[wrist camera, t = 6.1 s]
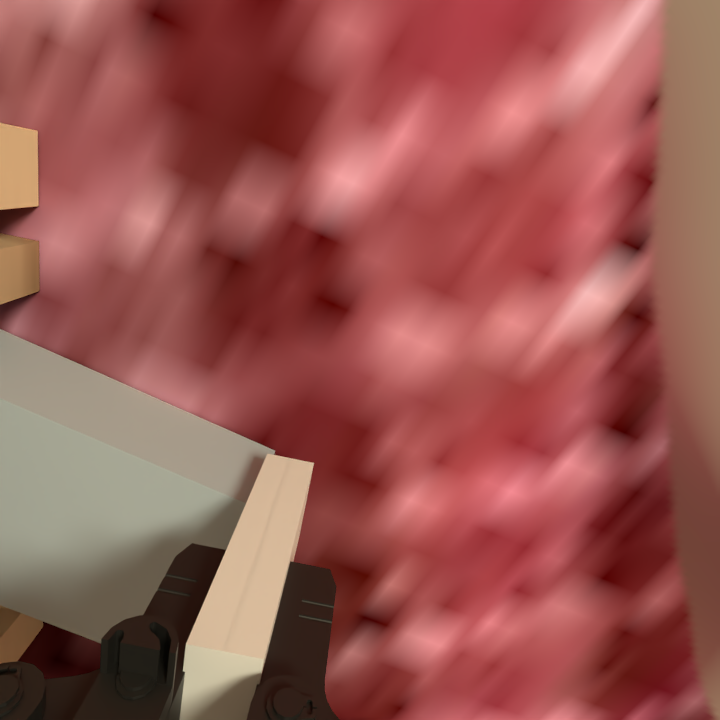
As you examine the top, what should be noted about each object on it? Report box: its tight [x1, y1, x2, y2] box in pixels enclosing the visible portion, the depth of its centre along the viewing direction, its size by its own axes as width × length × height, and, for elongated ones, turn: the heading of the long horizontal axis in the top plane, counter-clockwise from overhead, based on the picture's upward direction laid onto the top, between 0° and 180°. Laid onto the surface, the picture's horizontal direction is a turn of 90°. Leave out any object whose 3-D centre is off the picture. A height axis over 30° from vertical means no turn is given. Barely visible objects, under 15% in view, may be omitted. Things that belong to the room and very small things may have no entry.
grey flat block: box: [0, 329, 275, 643], centre depth 16 cm, size 14×7×3 cm, turn 64°
